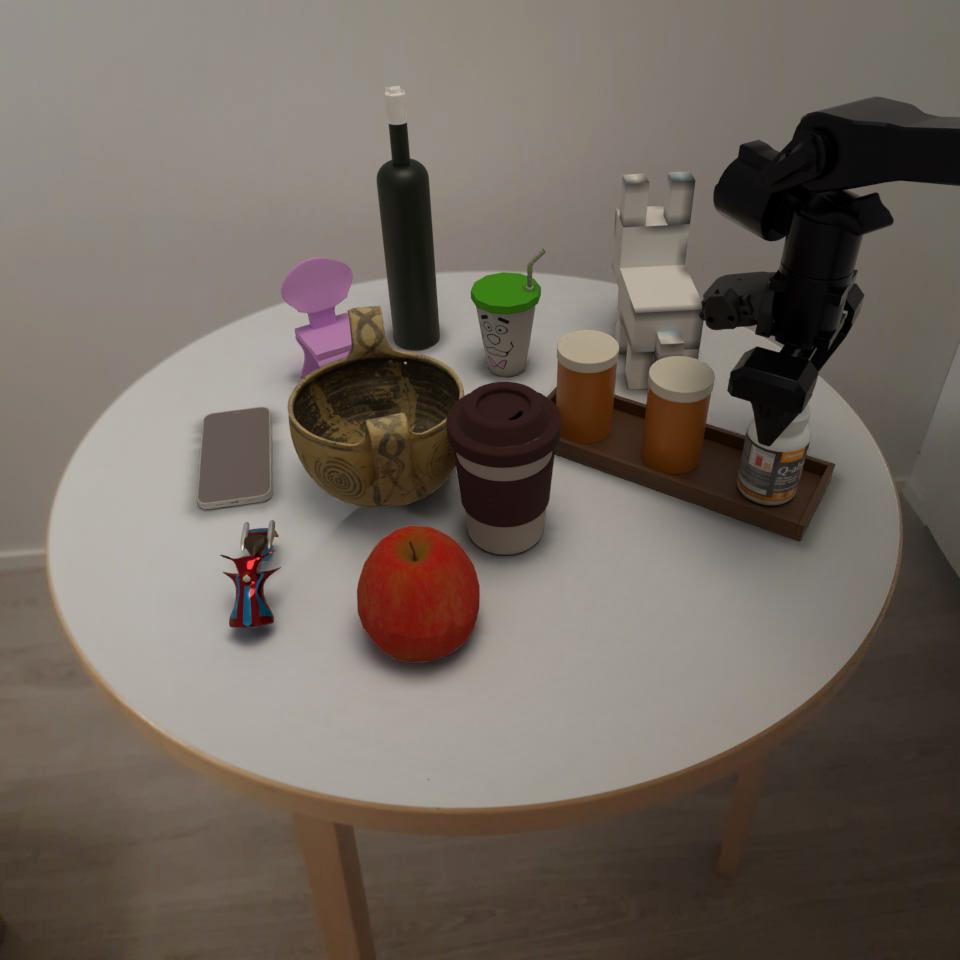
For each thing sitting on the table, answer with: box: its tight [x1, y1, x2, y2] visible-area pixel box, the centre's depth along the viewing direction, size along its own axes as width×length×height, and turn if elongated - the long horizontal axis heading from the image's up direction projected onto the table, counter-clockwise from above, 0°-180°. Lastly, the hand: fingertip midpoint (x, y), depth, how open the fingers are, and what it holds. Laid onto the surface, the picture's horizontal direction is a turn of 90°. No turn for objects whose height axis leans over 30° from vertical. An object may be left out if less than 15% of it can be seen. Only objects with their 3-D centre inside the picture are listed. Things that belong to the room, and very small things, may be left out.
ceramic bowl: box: [287, 305, 465, 509], centre depth 88 cm, size 22×17×15 cm
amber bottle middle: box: [641, 356, 716, 474], centre depth 90 cm, size 6×6×10 cm
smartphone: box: [196, 406, 273, 510], centre depth 96 cm, size 7×1×15 cm
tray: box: [546, 386, 836, 542], centre depth 93 cm, size 30×10×2 cm, turn 58°
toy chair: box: [280, 256, 354, 378], centre depth 101 cm, size 8×9×15 cm
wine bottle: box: [375, 84, 441, 351], centre depth 103 cm, size 6×6×30 cm
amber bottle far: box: [556, 329, 620, 444], centre depth 95 cm, size 6×6×10 cm
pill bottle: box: [737, 403, 811, 505], centre depth 86 cm, size 6×6×10 cm
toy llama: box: [611, 170, 705, 391], centre depth 102 cm, size 8×18×20 cm, turn 3°
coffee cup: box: [446, 381, 562, 556], centre depth 82 cm, size 10×10×15 cm
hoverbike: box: [219, 519, 282, 629], centre depth 80 cm, size 5×12×6 cm, turn 5°
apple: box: [356, 524, 481, 664], centre depth 75 cm, size 10×10×10 cm
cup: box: [470, 248, 546, 378], centre depth 103 cm, size 8×8×15 cm
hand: (780, 417), depth 84 cm, fingers open, 9 cm apart
